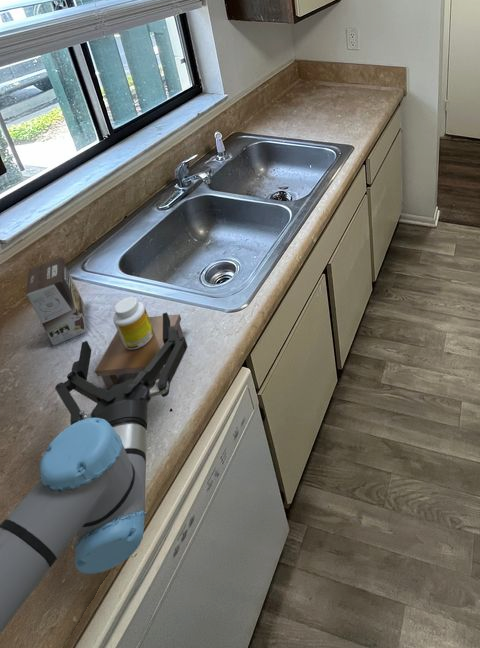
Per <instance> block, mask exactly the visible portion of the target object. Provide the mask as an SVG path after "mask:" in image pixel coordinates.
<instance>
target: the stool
mask: <svg viewBox="0 0 480 648" xmlns="http://www.w3.org/2000/svg"><path fill="white" fill-rule="evenodd" d="M148 317H149V320H150V322H151V325H152V327H153V336H152V338H151V339H150V341H149V342H148V343H147V344H145V345H144V346H142V347H140V348H137V349H128V348H126V347H125V346H124V344H123V342H122V339H121V337H120V335H119V333H118V330H117V331H116V332H115V334H114V336H113V338H112V340H111V341H110V343H109V345H108V347H107V349H106V351H105V352H104V354H103V356H102V358H101V359H100V360H99V363H98V365H97V367H96V368H95V370H94V373H95V375H96V376H97V377H101V379H102V381H103V383H104V385H105V387H106V389H111V387H112V386H114V385H116V384H118V382H119V381H120V379H119V377H118V375H126V374H134V373H135V374H136V373H140V371H143V370H144V369H145V368H146V367H147V365H148V364H149V363H150V362H151V360H152V359H153V358H154V357H155V355H156V354H157V353H158V352H159V350H160V349H161V348H162V347H163V345H164V342H163V315H157V316H148ZM168 317H169V319H170V327H171V326H174V327H175V330H176V339H179V338H180V337H181V336H184V332H183V329H182V326H181V320H182V317H181V314H180V313H178V314H168ZM163 368H164V367H163ZM163 368H162V369H161V370H160V372H159V373H158V374H157V376H156V377H155V378H154V380H153V381H154V382H155V383H156V380H159V376H160V374H161V372H162V370H163Z"/></svg>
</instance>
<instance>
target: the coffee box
mask: <svg viewBox="0 0 480 648" xmlns="http://www.w3.org/2000/svg"><path fill="white" fill-rule="evenodd" d="M25 293H26V294H25V295H26V296H27V298H28V300H29V302H30V304H31V306H32V308H33V310H34V311H35V314H36V316H37V318H38V319H39V321H40V323H41V325H42V327H43V329H44V331H45V333H46V335H47V336H48V338H49V340H50V342H51V345H52V346H56V345H59V344H61V343H64V342H66V341H68V340H71V339H73V338H76V337H78V336H80V335H83V334H85V333H86V305H85V302H84V300H83V298H82V296H81V294H80V292H79V289H78V287H77V285H76V283H75V281H74V278H73V277H72V274H71V273H70V269H68V266H67V264H66V262H65V259H64V257H63V256H62V257H58V258H55V259H52V260H50V261H47V262H45V263H42V264H40V265H37V266H34V267H31V268H29V270H28V277H27V284H26V292H25Z"/></svg>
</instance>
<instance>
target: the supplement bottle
mask: <svg viewBox="0 0 480 648" xmlns="http://www.w3.org/2000/svg"><path fill="white" fill-rule="evenodd" d="M149 317H150V316H149V315H148V312H147V309H146V307H145V304H144V303H143V302H141V301H138V299H137V298H136V297H135V296H128V297H124V298H122V299H121V300H119V301H118V302H117V303H116V304H115V306H114V315H113V318H112V319H113V323H114V325H115V328H116V330H117V331H118V333H119V335H120V337H121V339H122V342H123V344H124V346H125V347H126V348H128V349H137V348H140V347H142V346H144V345H145V344H147V343H148V342H149V341H150V339H151V338H152V336H153V327H152V325H151V322H150V320H149Z"/></svg>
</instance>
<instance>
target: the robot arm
mask: <svg viewBox="0 0 480 648" xmlns="http://www.w3.org/2000/svg"><path fill="white" fill-rule="evenodd" d="M168 315H169V314H168V312H164V313H162V316H163V342H164V345H163V347H162V348H161V349H160V350H159V352H158V353H157V354H156V355H155V357H154V358H153V359H152V360H151V362H150V363H149V364H148V365H147V367H146V368H145V369H144V370H143V371H140V372H138V374H137V375H136V376H135V377H134V378H133V377H132V378H129V379H126V380H125V381H123V382H121V383H117V384H116V385H114V386H112V387H111V388H108V390H106V389H104V388H103V387H101V386H100V387H98V386H97V385H95V384H94V383H92V382H90V381H88V376H89V370H90V369H89V368H90V363H91V362H90V361H91V355H92V348H91V346H90V344H89V342H88V340H84V341H82V342H81V347H80V351H79V357H78V360H77V361H74V362H73V363H72V366H71V371H70V372H69V373H68V374H67V375H66V379H67V380H65V381H64V382H62V381H61V382H59V383H57V384H56V385H55V387H54V389H55V391H56V392H57V394H58V396H59V398H60V399H61V401H62V403H63V405H64V406H65V407H66V409H67V411H68V412H69V414H70V422H69V423H70V425H69V426H67V427H66V428H65V429H63V430H62V431H61V432H59V434H57V435H56V436H55V437H54V438H53V439H52V440H51V442H50V443H49V445H48V446H47V448H46V451H45V452H44V454H43V456H42V458H41V460H40V464H39V474H40V480H39V481H38V482H37V484H36V485H34V487H33V488H32V489H31V490H30V491H29V493H27V494H26V496H25V497H24V498H23V499H22V500H21V501H20V502H19V504H17V506H16V507H15V508H13V510H12V511H11V512H10V514H9V515H8V516H7V517H5V519H3V521H2V522H1V524H0V635H1V634H2V632H3V631H4V630H5V628H7V626H8V625H9V623H10V622H11V621H12V619H13V618H14V616H15V615H16V614H17V612H18V611H19V610H20V608H21V607H22V606H23V605H24V604H25V602H26V601H27V600H28V598H29V596H31V594H32V593H33V591H34V590H35V589H36V587H37V586H38V585H39V583H40V582H41V581H42V579H43V578H44V577H45V576H46V574H47V573H48V572H49V570H50V569H51V568H52V567H53V565H54V564H55V562H56V561H57V560H58V559H59V558H60V556H61V555H62V554H63V552H64V551H65V550H66V549H67V547H68V546H69V545H70V543H71V542H72V541H73V540H74V538H75V537H76V536H77V538H76V539H77V540H76V542H75V544H74V549H75V556H74V557H75V559H74V564H75V568H76V570H77V571H78V572H80V573H82V574H86V575H93V574H99V573H103V572H106V571H108V570H109V571H110V570H111V569H113V568H115V567H116V566H119V565H121V564H122V563H124V562H125V561H126V560H128V559H129V558H130V557H131V556H132V555H133V554H134V553H135V552H136V551H137V549H138V548H139V547H140V545H141V543H142V541H143V537H144V531H145V518H146V516H147V511H146V478H147V477H146V476H147V475H146V474H147V443H148V442H147V441H148V432H147V430H148V418H149V417H148V414H149V402H150V400H151V399H152V398H153V397H154V398H155V397H157V396H161V397H162V398H165V397H167V396H168V395H169V394H170V387H171V382H172V380H173V378H174V376H175V374H176V372H177V370H178V368H179V366H180V365H181V361H182V360H183V358H184V355H185V354H186V351H187V349H188V346H189V345H188V343H187V340H186V338H185V336H184V335H183V336H181V337H180V338H179V339H176V330H175V327H174V326H171V327H170V319H169V317H168ZM163 367H164V368H163ZM162 368H163V370H162V372H161V374H160V376H159V380H156V382H155V383H154V385H153V382H154V381H155V380H154V378H155V377H156V376H157V374H158V373H159V372H160V370H161V369H162ZM152 385H153V386H152ZM151 386H152V387H151ZM73 390H74V391H76V393H78V394H81V395H82V396H83V397H85V398H87V399H88V400H90V401H92V402H94V403H95V404H96V405H95V406H94V408H93V409H92V410H91V412H90V413H88V411H86V410H85V411H84V410H81V409H80V407H79V404H78V403H77V401H76V400H75V399H74V397H73V396H72V393H71V392H72V391H73Z"/></svg>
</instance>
